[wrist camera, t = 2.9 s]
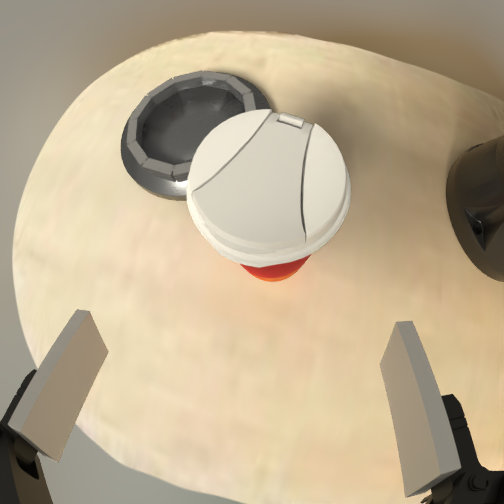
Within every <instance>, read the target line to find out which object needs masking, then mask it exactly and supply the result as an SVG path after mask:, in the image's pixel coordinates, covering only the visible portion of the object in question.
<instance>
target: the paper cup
mask: <svg viewBox="0 0 504 504" xmlns="http://www.w3.org/2000/svg"><path fill="white" fill-rule="evenodd" d="M304 120H305V119H303V118H300V117H297V116H293V115H290V114H287V113H284V112H282V113H281V114H278V113H275V112H274V113H273V112H272V110H271V109H261V110H254V111H249V112H245V113H241V114H239V115H236V116H234V117H231V118H229V119H228V120H226V121H224V122H222V123H221V124H219V125H218V126H217V127H216V128H214V129H213V130H212V131H211V132H210V133H209V134H208V135H207V136H206V137H205V138H204V140H203V141H202V143H201V144H200V145H199V147H198V149H197V151H196V153H195V155H194V157H193V160H192V164H191V167H190V172H189V175H188V179H187V188H186V193H187V203H188V208H189V212H190V214H191V217H192V219H193V221H194V224H195V225H196V227H197V228H198V230H199V231H200V233H201V234H202V235H203V236H204V237H205V238H206V239H207V240H208V242H209V243H210V244H211V245H212V246H213V247H214V248H215V249H216V251H217V252H218V253H219V254H220V255H222V256H224V257H225V258H227V259H229V260H231V261H234V262H237V263H239V264H240V265H242V266H243V267H244V268H245V269H246V270H247V271H248V272H249V273H250V274H252V275H253V276H255V277H256V278H259V279H261V280H264V281H271V282H273V281H281V280H284V279H286V278H288V277H290V276H292V275H293V274H294V273H296V272H297V271H298V270H299V269H300V268H301V266H302V265H303V264H304V263H305V261H306V260H307V259H308V258H309V256H310V255H311V254H312V253H314V252H316V251H317V250H318V249H320V248H321V247H322V246H324V245H325V244H326V243H327V242H328V241H329V240H330V239H331V238H332V237H333V236H334V235H335V234H336V232H337V231H338V229H339V228H340V226H341V225H342V223H343V221H344V219H345V217H346V215H347V212H348V208H349V204H350V199H351V183H350V176H349V173H348V169H347V166H346V164H345V162H344V159H343V156H342V154H341V152H340V150H339V148H338V146H337V145H336V143H335V142H334V140H333V139H332V138H331V136H330V135H329V134H328V133H327V132H326V131H325V130H324V129H323V128H321V127H320V126H319V125H317V124H316V123H315V125H314V126H313V124H310V123H307V122H304Z"/></svg>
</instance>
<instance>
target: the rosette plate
mask: <svg viewBox="0 0 504 504" xmlns="http://www.w3.org/2000/svg"><path fill="white" fill-rule="evenodd" d="M147 95H148V96H145V97H144V98H143V99H142V101H141V102H140V104H139V105H138V106H137V107H136V109H135V110H134V111H133V113H132V114H131V116H130V117H129V119H128V121H127V123H126V125H125V128H124V131H123V134H122V139H121V156H122V160H123V164H124V166H125V168H126V170H127V172H128V173H129V174H130V176H131V177H132V178H133V179H134V180H135V181H136V183H137V184H139V185H140V186H141V187H142V188H143V189H144V190H146V191H148V192H149V193H151V194H153V195H156V196H158V197H161V198H165V199H169V200H177V201H187V193H186V188H187V179H188V175H189V172H190V167H191V164H192V160H193V157H194V155H195V153H196V151H197V149H198V147H199V145H200V144H201V143H202V141H203V140H204V138H205V137H206V136H207V135H208V134H209V133H210V132H211V131H212V130H213V129H214V128H216V127H217V126H218V125H219V124H221V123H222V122H224V121H226V120H228V119H229V118H231V117H234V116H236V115H239V114H241V113H245V112H249V111H254V110H261V109H270V107H269V104H268V102H267V100H266V98H265V97H264V95H263V94H262V93H261V92H260V91H259V90H258V89H257V88H256V87H255V86H254V85H252V84H251V83H249V82H248V81H246V80H244V79H242V78H240V77H237V76H234V75H230V74H226V73H217V72H210V71H204V72H203V73H202V71H198V72H194V73H189V74H185V75H181V76H176V77H174V80H173V79H172V78H171V79H169V80H168V81H166V82H164V83H163V84H161V85H160V86H158V87H157V88H155V89H154V90H152V91H151V92H149V93H148V94H147Z"/></svg>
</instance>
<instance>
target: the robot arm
mask: <svg viewBox="0 0 504 504" xmlns="http://www.w3.org/2000/svg"><path fill="white" fill-rule="evenodd" d="M447 205H448V211H449V216H450V219H451V223H452V226H453V229H454V231H455V234H456V236H457V238H458V240H459V242H460V244H461V246H462V248H463V249H464V251H465V253H466V254H467V256H468V257H469V258H470V260H471V261H472V262H473V263H474V264H475V266H476V267H477V268H478V269H480V270H481V271H482V272H483V273H484V274H486V275H487V276H489V277H491V278H492V279H495V280H498V281H502V282H504V135H503V136H501V137H498V138H496V139H493V140H491V141H489V142H486V143H484V144H479V145H475V146H473V147H471V148H469V149H468V150H467V151H466V152H464V153H463V155H462V156H461V157H460V158H459V159H458V160H457V161H456V162H455V163H454V165H453V166H452V168H451V170H450V173H449V176H448V180H447ZM107 354H108V350H107V348H106V346H105V344H104V342H103V339H102V337H101V335H100V333H99V331H98V329H97V327H96V325H95V322H94V320H93V318H92V316H91V313H90V311H85V310H76V311H75V313H74V314H73V316H72V317H71V319H70V320H69V322H68V323H67V325H66V326H65V328H64V329H63V331H62V332H61V334H60V335H59V337H58V338H57V340H56V341H55V343H54V344H53V346H52V347H51V349H50V351H49V352H48V354H47V355H46V357H45V359H44V360H43V362H42V363H41V365H40V367H39V368H38V370H35V369H34V370H33V371H31V372H30V373H29V374H28V375H27V376H26V377H25V379H24V381H23V382H22V384H21V387H20V388H19V389H18V391H17V395H15V396H14V398H13V400H12V402H11V404H10V406H9V407H8V409H7V411H6V413H5V415H4V417H3V419H2V420H1V421H0V504H53V502H52V499H51V496H50V493H49V490H48V487H47V484H46V481H45V477H44V474H43V470H42V467H41V463H40V459H39V457H38V455H37V452H38V451H39V452H40V453H41V454H42V455H44V456H45V457H47V458H49V459H51V460H53V461H55V462H57V463H59V460H60V458H61V455H62V453H63V450H64V448H65V445H66V443H67V441H68V438H69V436H70V433H71V431H72V429H73V426H74V424H75V422H76V420H77V417H78V415H79V413H80V411H81V408H82V406H83V404H84V402H85V400H86V397H87V395H88V393H89V391H90V389H91V387H92V385H93V382H94V380H95V378H96V376H97V374H98V372H99V370H100V368H101V366H102V364H103V362H104V360H105V358H106V356H107ZM380 368H381V372H382V376H383V380H384V384H385V388H386V392H387V397H388V401H389V406H390V410H391V415H392V420H393V425H394V430H395V435H396V440H397V446H398V451H399V457H400V463H401V469H402V476H403V483H404V490H405V498H406V497H410V496H414V495H418V494H422V493H425V492H426V491H428V490H429V489H431V492H432V494H431V495H429V496H427V497H425V498H424V499H423V500H422V501H421V502H420V503H422V504H423V503H424V502H426V501H427V502H426V504H504V471H489V470H488V469H486V468H485V467H483V466H481V464H480V463H479V461H478V458H477V455H476V451H475V448H474V444H473V441H472V437H471V434H470V431H469V427H467V425H468V424H467V421H466V418H464V416H465V415H464V412H463V409H462V406H461V404H460V402H459V401H458V400H457V399H456V397H455V396H454V395H453V394H450V395H445V396H441V395H440V392H439V389H438V386H437V383H436V380H435V377H434V374H433V372H432V369H431V366H430V364H429V361H428V358H427V356H426V353H425V351H424V348H423V346H422V343H421V341H420V338H419V336H418V333H417V331H416V328H415V326H414V324H413V321H403V322H396V323H395V326H394V329H393V332H392V334H391V337H390V340H389V342H388V345H387V348H386V350H385V353H384V355H383V358H382V360H381V363H380Z"/></svg>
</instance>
